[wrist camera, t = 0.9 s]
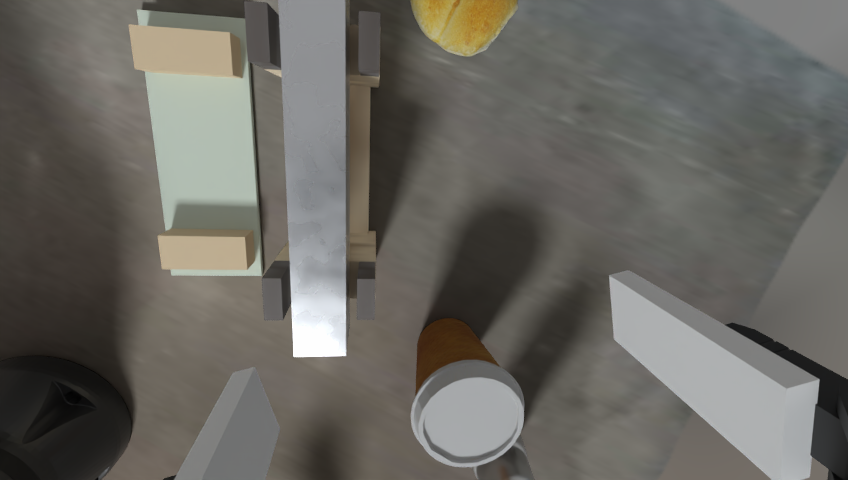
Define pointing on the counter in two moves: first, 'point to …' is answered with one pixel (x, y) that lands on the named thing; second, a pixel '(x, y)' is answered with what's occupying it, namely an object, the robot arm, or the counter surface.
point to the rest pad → (202, 141)
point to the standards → (362, 77)
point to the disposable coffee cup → (463, 398)
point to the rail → (317, 170)
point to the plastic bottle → (507, 465)
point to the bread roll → (463, 22)
